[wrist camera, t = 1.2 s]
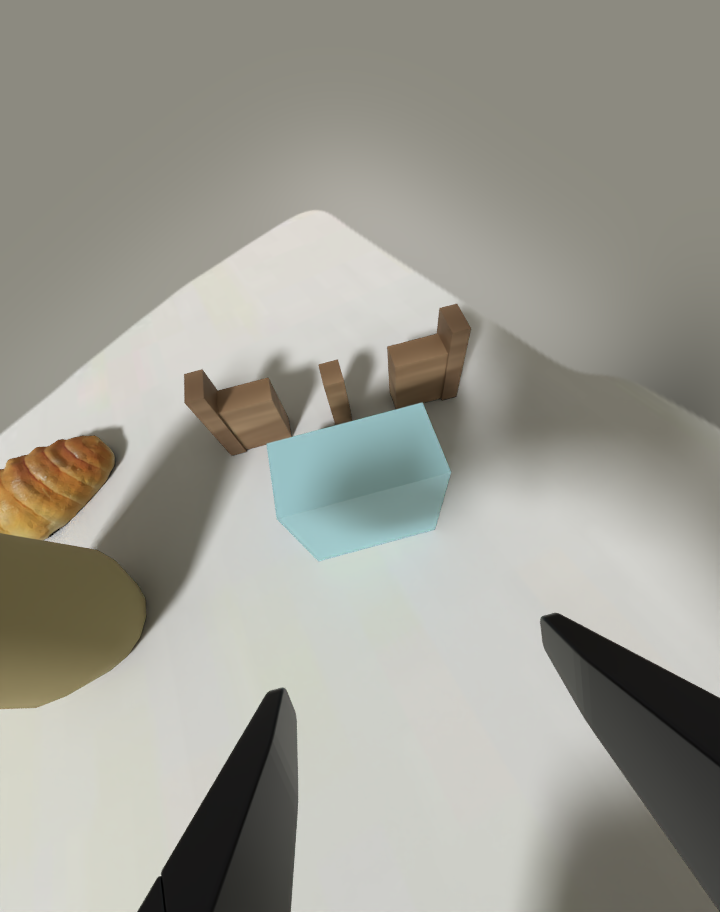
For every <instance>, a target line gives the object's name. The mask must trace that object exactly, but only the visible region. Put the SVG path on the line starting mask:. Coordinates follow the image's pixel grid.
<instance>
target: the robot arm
mask: <svg viewBox="0 0 720 912" xmlns="http://www.w3.org/2000/svg"><path fill="white" fill-rule="evenodd" d="M540 624H541V633H542V642H543V646H544V649H545V651H546V653H547V655H548V656H549V658H550V660H551V662H552V663H553V665H554V667H555V669H556V670H557V672H558V674H559V676H560V677H561V679H562V681H563V682H564V684H565V686H566V688H567V689H568V691H569V693H570V695H571V696H572V698H573V700H574V702H575V703H576V705H577V707H578V708H579V710H580V712H581V713H582V715H583V717H584V718H585V720H586V721H587V723H588V724H589V726H590V727H591V729H592V730H593V732H594V733H595V735H596V736H597V738H598V739H599V740H600V742H601V743H602V745H603V746H604V748H605V749H606V750H607V752H608V753H609V755H610V756H611V758H612V759H613V760H614V762H615V763H616V765H617V766H618V767H619V769H620V770H621V772H622V773H623V775H624V776H625V777H626V779H627V780H628V782H629V783H630V785H631V786H632V787H633V789H634V790H635V792H636V793H637V795H638V796H639V797H640V799H641V800H642V802H643V803H644V805H645V806H646V807H647V809H648V810H649V812H650V813H651V815H652V816H653V817H654V819H655V820H656V822H657V823H658V824H659V826H660V827H661V829H662V830H663V832H664V833H665V834H666V836H667V837H668V839H669V840H670V842H671V843H672V844H673V846H674V847H675V849H676V850H677V852H678V853H679V854H680V856H681V857H682V859H683V860H684V862H685V863H686V864H687V866H688V867H689V869H690V870H691V872H692V873H693V874H694V876H695V877H696V879H697V880H698V881H699V883H700V884H701V886H702V887H703V889H704V890H705V891H706V893H707V894H708V896H709V897H710V899H711V900H712V901H713V903H714V904H715V906H716V907H717V909H718V910H719V911H720V698H719V697H717V696H715V695H713V694H711V693H710V692H708V691H706V690H704V689H702V688H700V687H698V686H696V685H694V684H692V683H690V682H689V681H687V680H685V679H683V678H681V677H679V676H677V675H675V674H673V673H671V672H670V671H668V670H666V669H664V668H662V667H660V666H658V665H656V664H654V663H652V662H651V661H649V660H647V659H645V658H643V657H641V656H639V655H637V654H635V653H633V652H631V651H630V650H628V649H626V648H624V647H622V646H620V645H618V644H616V643H614V642H612V641H611V640H609V639H607V638H605V637H603V636H601V635H599V634H597V633H595V632H593V631H592V630H590V629H588V628H586V627H584V626H582V625H580V624H578V623H576V622H574V621H572V620H571V619H569V618H567V617H565V616H563V615H561V614H559V613H552V614H549V615H545V616H542V617H541V619H540ZM297 814H298V758H297V720H296V713H295V710H294V707H293V705H292V702H291V700H290V697H289V695H288V692H287V690H286V689H285V688H278V689H275V690H271V691H269V692H268V693H267V694H266V695H265V697H264V699H263V700H262V702H261V704H260V705H259V707H258V709H257V710H256V712H255V714H254V716H253V717H252V719H251V721H250V722H249V724H248V726H247V727H246V729H245V731H244V732H243V734H242V736H241V738H240V739H239V741H238V743H237V744H236V746H235V748H234V749H233V751H232V753H231V754H230V756H229V758H228V760H227V761H226V763H225V765H224V766H223V768H222V770H221V771H220V773H219V775H218V776H217V778H216V780H215V781H214V783H213V785H212V787H211V788H210V790H209V792H208V793H207V795H206V797H205V798H204V800H203V802H202V803H201V805H200V807H199V809H198V810H197V812H196V814H195V815H194V817H193V819H192V820H191V822H190V824H189V825H188V827H187V829H186V831H185V832H184V834H183V836H182V837H181V839H180V841H179V842H178V844H177V846H176V847H175V849H174V851H173V853H172V854H171V856H170V858H169V859H168V861H167V863H166V864H165V866H164V868H163V869H162V872H161V876H159V877H158V878H157V879H156V881H155V883H154V884H153V886H152V888H151V889H150V891H149V893H148V895H147V896H146V898H145V900H144V901H143V903H142V905H141V906H140V908H139V910H138V911H137V912H291V901H292V886H293V872H294V857H295V843H296V828H297Z"/></svg>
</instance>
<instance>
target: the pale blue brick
mask: <svg viewBox="0 0 720 912" xmlns="http://www.w3.org/2000/svg"><path fill="white" fill-rule="evenodd" d="M267 451H268V458H269V465H270V473H271V480H272V487H273V494H274V502H275V509H276V516H277V520H278V521H279V522H280V523H281V524H282V525H283V526H284V527H285V528H286V529H287V530H288V531H289V532H290V533H291V534H292V535H293V536H294V537H295V538H296V539H297V540H298V541H299V542H300V543H301V544H302V545H303V546H304V547H305V548H306V549H307V550H308V551H309V552H310V553H311V554H312V555H313V556H314V557H315V558H316V559H317V560H318V561H321V560H325V559H329V558H332V557H336V556H340V555H343V554H347V553H351V552H354V551H358V550H362V549H365V548H369V547H373V546H376V545H380V544H384V543H387V542H391V541H395V540H398V539H402V538H406V537H409V536H413V535H417V534H420V533H424V532H428V531H431V530H435V527H436V524H437V520H438V517H439V513H440V510H441V506H442V503H443V499H444V496H445V492H446V489H447V485H448V481H449V478H450V474H451V471H450V468H449V466H448V463H447V461H446V458H445V456H444V454H443V451H442V449H441V446H440V444H439V441H438V439H437V437H436V434H435V432H434V429H433V427H432V424H431V422H430V420H429V417H428V415H427V412H426V410H425V407H424V405H423V403H419V404H415V405H411V406H407V407H403V408H400V409H396V410H392V411H388V412H384V413H381V414H377V415H373V416H369V417H366V418H362V419H358V420H354V421H350V422H347V423H343V424H339V425H335V426H331V427H328V428H324V429H320V430H316V431H313V432H309V433H305V434H301V435H297V436H294V437H290V438H286V439H282V440H278V441H275V442H271V443H267Z"/></svg>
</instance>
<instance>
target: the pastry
mask: <svg viewBox="0 0 720 912" xmlns="http://www.w3.org/2000/svg"><path fill="white" fill-rule="evenodd" d="M114 465H115V456H114V454H113V452H112V450H111V449H110V448H109V447H108V446H107V445H106V444H105V443H103V442H102V440H101V439H100V438H98V437H97V436H80V437H74V438H71V439H68V440H64V439H62V440H57V441H56V442H55V443H53V444H51V445H50V446H48V447H36V448H35V449H34V450H33V451H32V452H31V453H30V454H28V455H23V456H20V457H17V458H12V459H9V460H8V461H7V463H6V467H5V469H0V533H3V534H8V535H14V536H20V537H26V538H31V539H37V540H44V539H47V538H48V536H49V535H50V534H51V533H53V532H54V531H56V530H57V529H59V528H62V527H63V526H65V525H66V524H67V523H68V522H69V521H70V520H71V519H72V518H73V517H75V515H76V514H77V512H78V511H79V510H80V509H82V508H83V507H84V506H85V505H86V504H87V502H88V501H89V500H90V499H91V498H92V497H93V496H94V495H95V494H96V493H97V491H98V490H99V489H100V488H101V487H102V486H103V484H104V483H105V482H106V480H107V479H108V476H109V474H110V472H111V470H112V469H113V467H114Z"/></svg>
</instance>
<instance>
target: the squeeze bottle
mask: <svg viewBox="0 0 720 912" xmlns="http://www.w3.org/2000/svg"><path fill="white" fill-rule="evenodd" d="M145 619H146V602H145V597H144V595H143V593H142V592H141V590H140V588H139V586H138V585H137V584H136V582H135V581H134V580H133V579H132V578H131V577H130V576H129V575H128V574H127V573H126V572H125V571H124V569H123V568H122V567H121V566H120V565H119V564H118V563H117V562H116V561H115V560H113V559H112V558H110V557H108V556H107V555H105V554H103V553H101V552H100V551H98V550H94V549H89V548H83V547H77V546H72V545H66V544H60V543H54V542H49V541H43V540H37V539H31V538H26V537H20V536H14V535H8V534H3V533H0V709H15V708H37V707H40V706H42V705H45V704H47V703H50V702H52V701H55V700H57V699H60V698H62V697H65V696H67V695H69V694H71V693H73V692H74V691H76V690H78V689H79V688H81V687H83V686H85V685H86V684H88V683H90V682H92V681H93V680H95V679H97V678H98V677H100V676H102V675H104V674H105V673H107V672H109V671H110V670H112V669H113V668H114V667H115V666H116V665H118V664H119V663H120V662H121V661H122V660H123V659H125V658H126V657H127V656H128V655H129V653H130V652H131V650H132V649H133V647H134V646H135V644H136V643H137V641H138V639H139V638H140V636H141V633H142V629H143V626H144V623H145Z"/></svg>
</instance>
